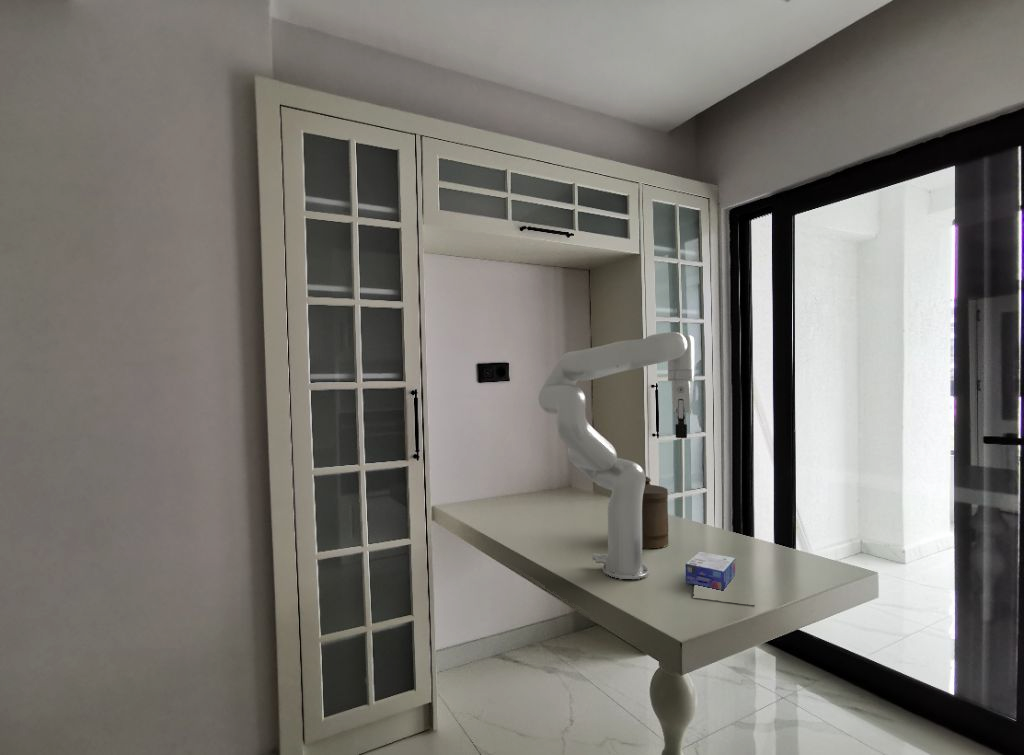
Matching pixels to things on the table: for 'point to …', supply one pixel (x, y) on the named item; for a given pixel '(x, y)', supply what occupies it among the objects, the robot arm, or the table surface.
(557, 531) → the table surface
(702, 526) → the table surface
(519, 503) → the table surface
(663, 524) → the wooden container
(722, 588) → the ink cartridge box
